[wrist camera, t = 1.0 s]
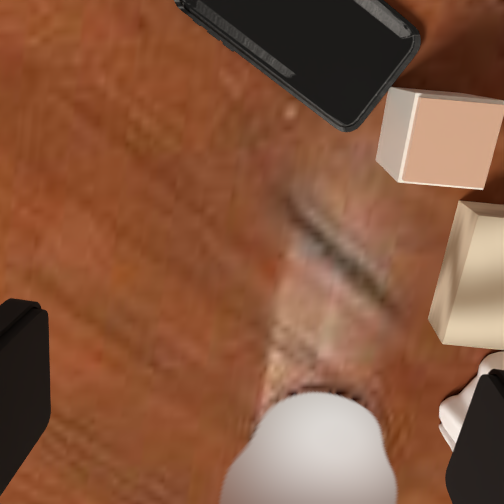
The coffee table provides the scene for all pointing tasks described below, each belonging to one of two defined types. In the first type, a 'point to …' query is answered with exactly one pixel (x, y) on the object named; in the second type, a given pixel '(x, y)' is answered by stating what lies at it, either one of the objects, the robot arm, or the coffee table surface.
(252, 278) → the coffee table surface
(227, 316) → the coffee table surface
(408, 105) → the peach rectangular block
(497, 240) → the block
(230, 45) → the phone
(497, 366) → the religious statue
